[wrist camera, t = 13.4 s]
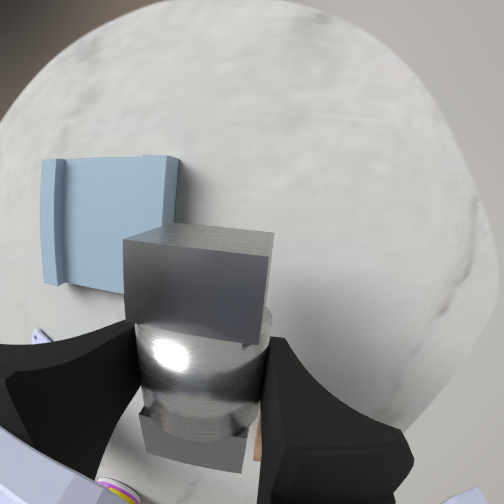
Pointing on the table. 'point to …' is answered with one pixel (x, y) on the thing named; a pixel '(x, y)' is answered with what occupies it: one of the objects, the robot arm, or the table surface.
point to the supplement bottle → (120, 490)
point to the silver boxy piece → (199, 337)
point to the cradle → (100, 214)
